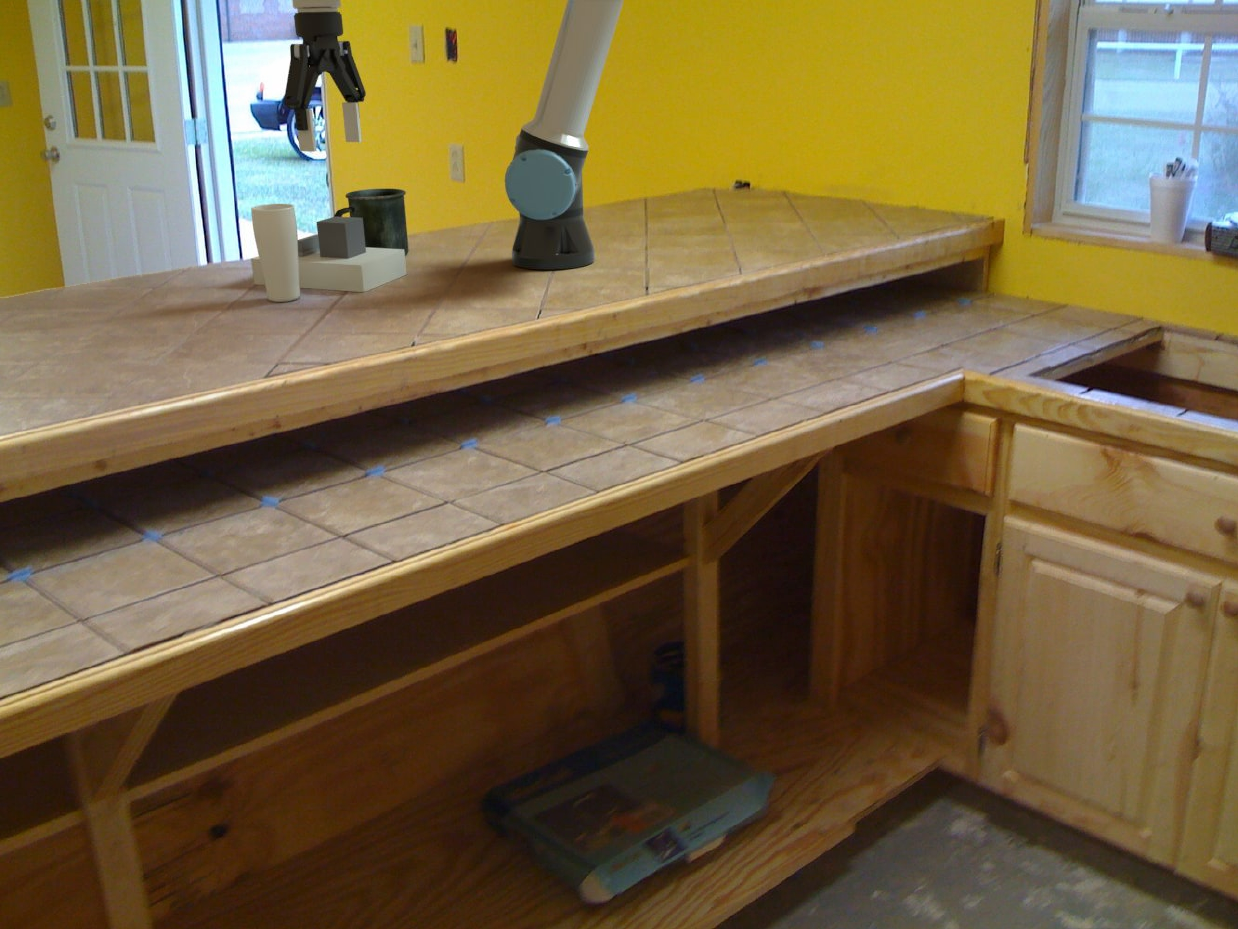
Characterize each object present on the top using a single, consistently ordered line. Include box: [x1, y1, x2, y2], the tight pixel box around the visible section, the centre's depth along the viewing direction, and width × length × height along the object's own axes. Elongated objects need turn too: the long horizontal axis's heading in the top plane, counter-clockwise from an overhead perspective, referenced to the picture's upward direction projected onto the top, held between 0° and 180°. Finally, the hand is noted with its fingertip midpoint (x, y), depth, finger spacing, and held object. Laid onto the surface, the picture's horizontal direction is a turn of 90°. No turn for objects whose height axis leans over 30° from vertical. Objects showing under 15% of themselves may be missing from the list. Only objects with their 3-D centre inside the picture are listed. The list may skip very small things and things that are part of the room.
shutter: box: [298, 233, 320, 256], centre depth 208 cm, size 6×6×3 cm
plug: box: [316, 216, 366, 259], centre depth 205 cm, size 6×6×10 cm
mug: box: [333, 188, 410, 257], centre depth 224 cm, size 11×15×12 cm
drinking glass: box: [251, 203, 301, 303], centre depth 192 cm, size 7×7×15 cm
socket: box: [250, 247, 407, 293], centre depth 207 cm, size 22×14×4 cm, turn 69°
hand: (331, 146), depth 199 cm, fingers open, 13 cm apart
